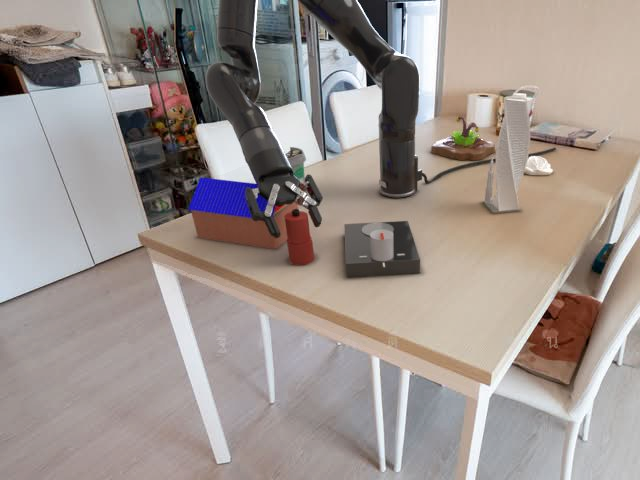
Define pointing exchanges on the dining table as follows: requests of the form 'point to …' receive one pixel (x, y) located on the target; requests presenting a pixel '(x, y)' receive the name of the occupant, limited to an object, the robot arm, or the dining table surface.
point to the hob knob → (382, 245)
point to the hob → (364, 265)
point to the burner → (376, 228)
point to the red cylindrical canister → (299, 238)
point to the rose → (537, 166)
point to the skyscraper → (510, 153)
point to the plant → (463, 145)
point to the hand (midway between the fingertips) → (298, 230)
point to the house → (234, 214)
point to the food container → (297, 162)
